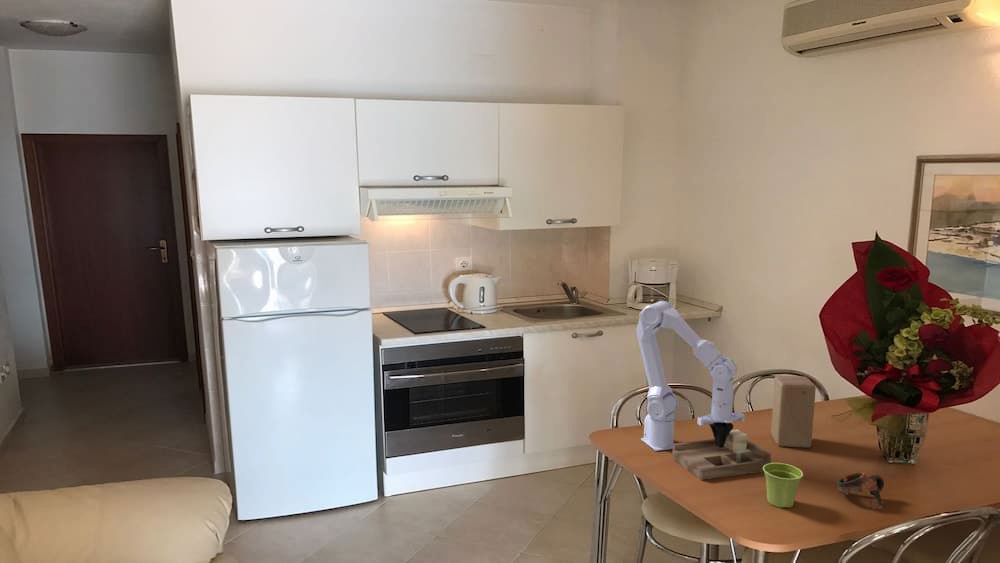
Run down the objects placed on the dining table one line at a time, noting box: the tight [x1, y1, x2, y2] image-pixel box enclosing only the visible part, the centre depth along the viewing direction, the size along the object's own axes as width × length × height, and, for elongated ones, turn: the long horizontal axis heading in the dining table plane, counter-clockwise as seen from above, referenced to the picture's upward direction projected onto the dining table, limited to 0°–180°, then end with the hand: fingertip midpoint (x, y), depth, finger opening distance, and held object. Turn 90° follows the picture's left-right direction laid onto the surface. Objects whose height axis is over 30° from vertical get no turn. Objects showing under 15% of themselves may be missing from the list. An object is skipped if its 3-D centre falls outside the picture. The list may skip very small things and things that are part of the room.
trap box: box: [671, 438, 772, 481], centre depth 197 cm, size 15×22×5 cm
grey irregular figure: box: [836, 471, 885, 510], centre depth 177 cm, size 12×10×8 cm
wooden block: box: [770, 375, 817, 449], centre depth 213 cm, size 10×10×20 cm
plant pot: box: [763, 462, 804, 509], centre depth 174 cm, size 9×9×9 cm
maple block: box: [724, 429, 748, 451], centre depth 202 cm, size 4×4×4 cm
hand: (719, 446), depth 201 cm, fingers closed
